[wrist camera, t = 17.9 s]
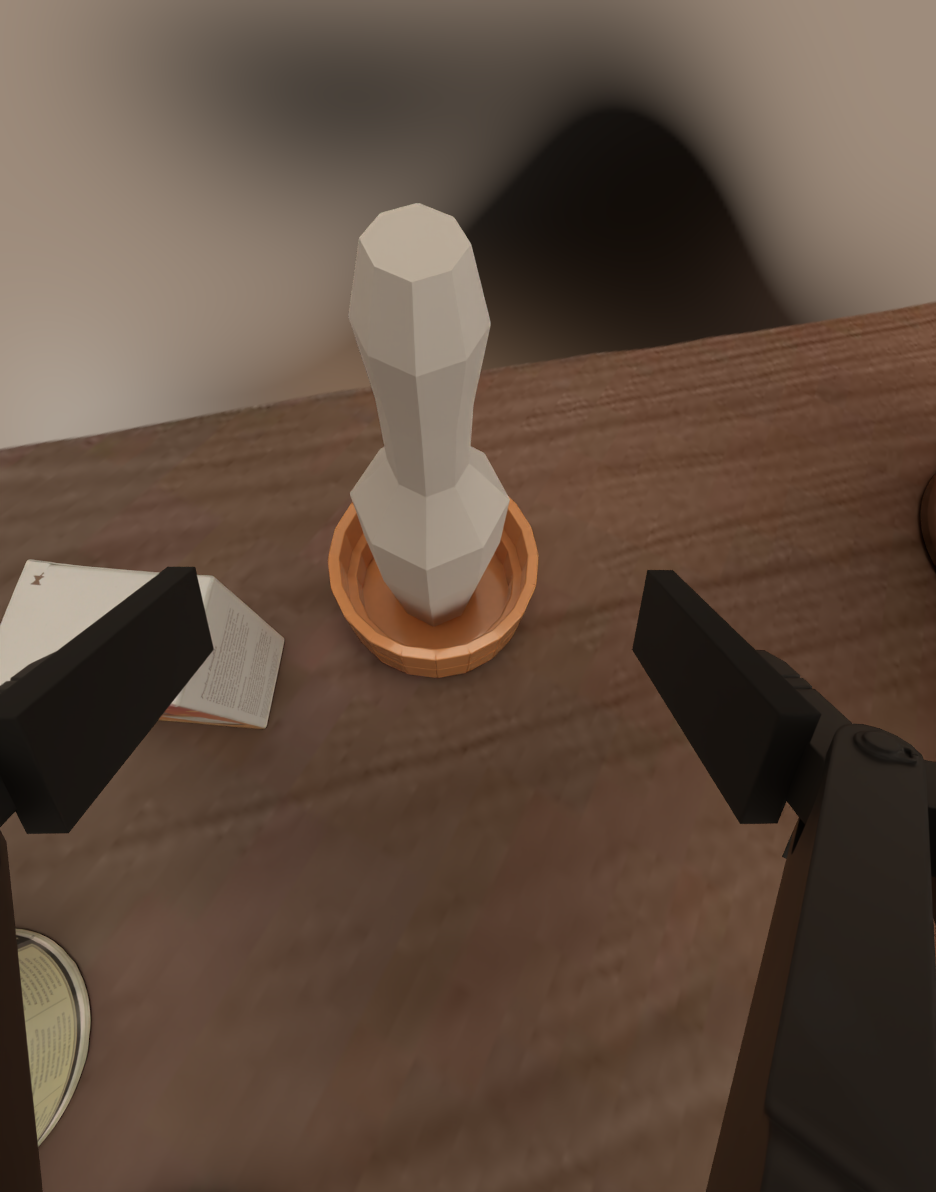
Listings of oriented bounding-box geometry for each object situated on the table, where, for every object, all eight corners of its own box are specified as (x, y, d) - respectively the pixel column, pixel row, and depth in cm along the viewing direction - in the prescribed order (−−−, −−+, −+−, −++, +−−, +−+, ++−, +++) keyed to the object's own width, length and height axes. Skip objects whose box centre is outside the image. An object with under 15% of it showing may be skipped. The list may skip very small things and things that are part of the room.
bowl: (502, 502, 35) (512, 454, 29) (541, 660, 31) (560, 638, 26) (338, 527, 34) (319, 482, 28) (358, 694, 30) (340, 678, 25)
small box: (129, 719, 29) (-36, 691, 19) (157, 626, 31) (20, 556, 21) (269, 731, 29) (176, 710, 19) (288, 637, 31) (213, 573, 21)
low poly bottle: (432, 659, 30) (401, 411, 9) (363, 587, 32) (205, 229, 11) (507, 591, 32) (619, 252, 11) (438, 525, 33) (425, 112, 12)
